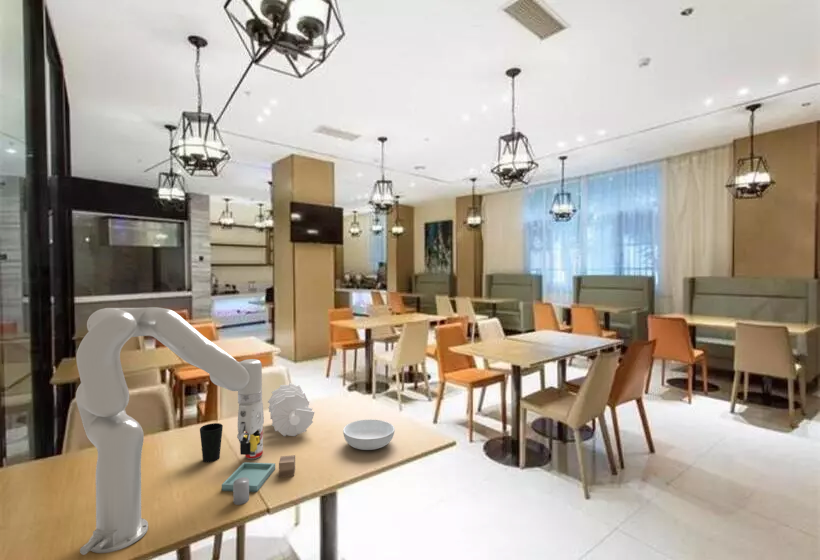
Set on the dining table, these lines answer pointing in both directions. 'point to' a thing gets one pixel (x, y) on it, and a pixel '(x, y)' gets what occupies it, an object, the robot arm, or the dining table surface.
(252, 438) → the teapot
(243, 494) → the grey cylinder
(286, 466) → the walnut cube
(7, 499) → the dining table surface
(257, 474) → the tray
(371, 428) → the serving bowl
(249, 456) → the beer can
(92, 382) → the robot arm
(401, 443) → the dining table surface
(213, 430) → the cup
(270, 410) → the spiral staircase
